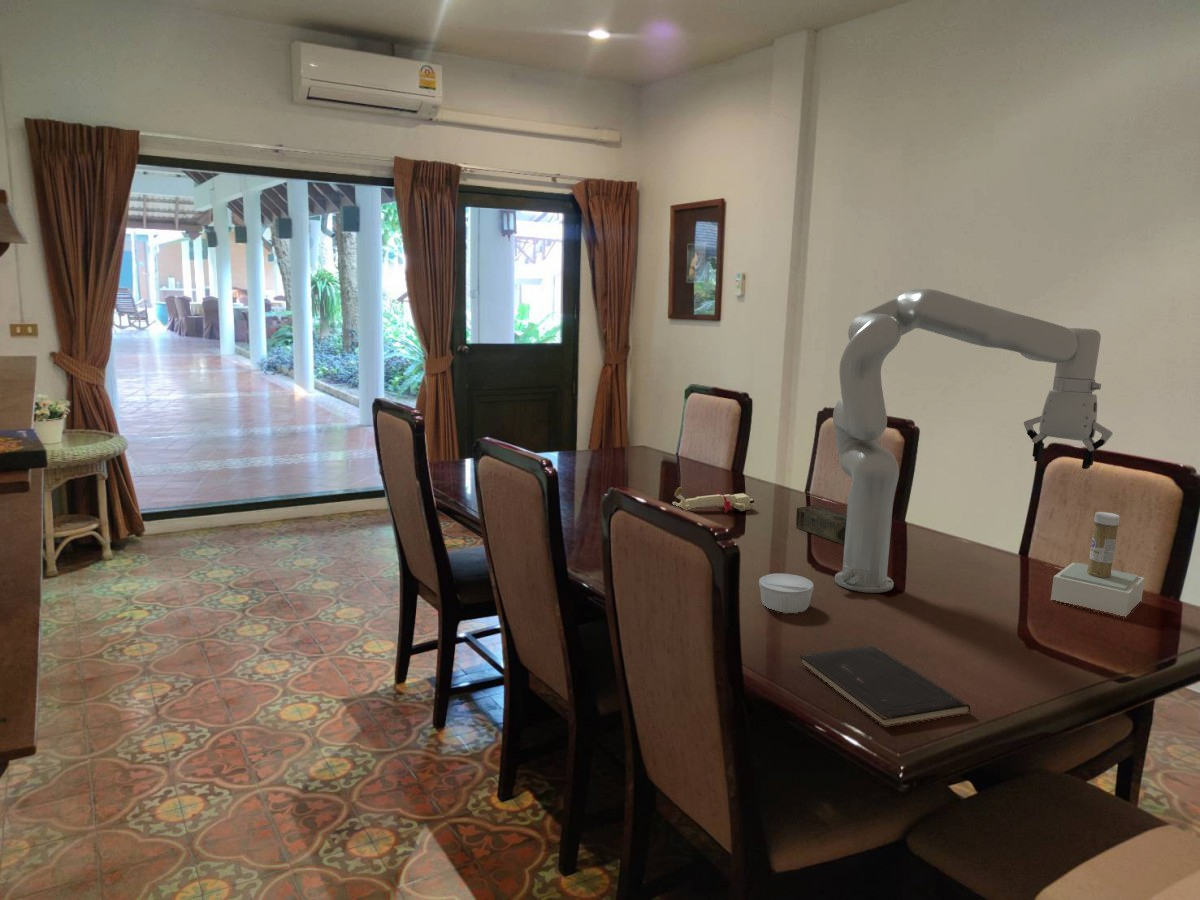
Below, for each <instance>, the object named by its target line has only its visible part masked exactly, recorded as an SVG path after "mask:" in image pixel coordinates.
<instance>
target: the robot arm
mask: <svg viewBox="0 0 1200 900" xmlns="http://www.w3.org/2000/svg"><path fill="white" fill-rule="evenodd" d="M915 329H919V330H920V329H921V330H925V331H928V332H932V333H933V334H937V335H942V336H943V337H944V336H945V337H948V338H951V339H955V340H958V341H961V342H964V343H965V342H966V343H967V344H968V343H969V344H972V345H976V346H981V347H984V348H985V347H986V348H993V349H1000V350H1006V351H1010V352H1014V353H1015V352H1016V353H1020V355H1021V356H1022V357H1024V358H1026V359H1028V360H1030V361H1035V362H1045V363H1052V364H1055V369H1054V370H1055V371H1054V376H1053V385H1052V390H1049V391H1048V393H1047V396H1046V398H1045V402H1044V404H1043V409H1042V412H1041V415H1040V416H1038V417H1037V416H1036V417H1034V418H1031V419H1028V420H1025V421H1023V425H1024V429H1025V430H1026V434H1027V436H1028V437H1029V438H1030V439H1031V442H1032V443H1033V449H1032V457H1033V461H1034V462H1040V461H1042V460H1043V455H1044V448H1045V443H1044V442H1043V441H1044V440H1045V439H1046V438H1049V437H1050V438H1057V439H1063V440H1064V439H1065V440H1072V441H1081V442H1082V443H1083V445H1084V446H1085V447H1086V450H1084V452H1083V458H1082V464H1081V468H1082V469H1083V470H1088V469H1090V467H1091V466H1093V465H1094V460H1095V454H1096V451H1097V450H1098V449H1099V448H1101V447H1103V446H1104V445H1105V444H1106V443H1107V442H1108V441H1109V439H1111V437H1112V436H1113V431H1111V430H1110V429H1108V428H1106V427H1105V426H1103V425H1101V424H1100V423H1098V422H1097V419H1098V396H1097V394H1094V391H1096V390H1099V391H1100V390H1101V389H1102V383H1098V382H1096V377H1095V376H1096V372H1097V371H1096V370H1097V367H1098V366H1097V365H1098V359H1099V352H1100V351H1099V350H1100V345H1101V344H1100V343H1101V339H1102V338H1101V337H1102V336H1101V333H1100V332H1099V330H1096V329H1091V328H1077V327H1076V328H1075V327H1072V328H1071V327H1070V328H1068V327H1066V326H1063V325H1060V324H1056V323H1053V322H1049V321H1046V320H1043V319H1039V318H1035V317H1032V316H1028V315H1025V314H1020V313H1017V312H1013V311H1009V310H1007V309H1003V308H1000V307H996V306H993V305H988V304H985V303H981V302H978V301H974V300H971V299H968V298H964V297H960V296H957V295H954V294H950V293H949V292H943V291H941V290H937V289H931V288H920V289H917V288H916V289H911V290H909V291H906V292H904V293H902V294H900V295H897V296H895V297H893V298H891V299H890V300H888V301H886V302H883V303H882V304H880V305H877V306H875V307H873V308H871V309H868V310H867V311H865V312H862V313H861V314H859V315H857V316H856V317H855V318H854V319H853V320H852V322H851V323H850V324H849V327H848V330H847V332H848V333H847V335H848V340H849V341H848V343H847V345H846V347H845V348H844V351H843V353H842V355H841V359H840V363H839V371H838V372H839V384H840V396H841V398H839V400H838V401H837V402H836V403H835V406H834V408H833V412H832V413H833V414H832V423H833V430H834V436H835V437H834V438H835V442H836V447H837V448H836V449H837V454H838V459H839V464H840V467H841V468H842V471H844V473H845V474H846V475H847V477H849V478H850V479H852V480H851V485H850V489H849V494H848V498H847V507H846V515H847V519H846V532H845V545H844V546H843V559H842V560H843V561H842V571H838V572H837V573H835V576H834V582H835V583H836V584H837V585H838V586H840V587H842V588H845V589H847V590H850V591H855V592H856V591H857V592H862V593H868V594H869V593H871V594H872V593H873V594H875V593H876V594H877V593H885V592H889V591H891V590H892V589H893V588H894V584H895V583H894V581H893V580H892V578H890V577H889V576H888V566H889V557H890V556H889V554H890V542H891V533H892V532H891V531H892V530H891V529H892V517H893V508H894V501H895V494H896V490H897V485H898V482H899V478H900V468H899V463H898V461H897V459H896V457H895V456H894V454H893V453H892V452H891V451H890V450H889V449H887V448H885V447H884V446H882V445H880V442H879V438H880V437H882V435H883V434H884V433H885V431H886V428H887V425H888V415H887V409H886V404H885V399H884V398H885V397H884V390H883V385H882V373H881V372H882V366H883V364H884V363H883V362H884V361H885V359H886V358H887V356H888V355H889V354H890V353H891V352H892V351H893V350H894V349H895V348H896V347H897V346H898V345H899V343H900V341H901V338H902V337H903V336H904V335H906V334H907V333H910V332H911V331H914V330H915ZM1038 423H1039V430H1038V431H1039V432H1038V433H1037V432H1036V430H1035V429H1034V425H1036V424H1038ZM1096 431H1097V432H1098V433H1100V435H1101V437H1100V438H1099V439H1098V440H1097V441H1095V440H1094V439H1093V438H1095V435H1096Z"/></svg>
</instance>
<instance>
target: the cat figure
mask: <svg viewBox="0 0 1200 900" xmlns="http://www.w3.org/2000/svg"><path fill="white" fill-rule="evenodd" d="M683 492H684V488H683V487H682V486H679V487H677V489H676V490H675V492H674V497H675V498H677V499H678V500H680V502H679V503H678V502H676V501H672V504H673V505H676V506H679V507H681V508H683V509H686V510H690V509H691V508H696V507H702V508H708V507H710V508H711V507H717V506H718V507H724V512H725V511H726V513H728V511H729V510H731V509H732V507H733V508H735V509H736V510H737V509H738V510H737V511H740V512H745V511H746V510H751V509H753V508H754V507H755V506H756V504H754V503H755V500H754V499H753V498H751V497H750V496H748V495H747V494H745V493H744V492H742V493H734V494H729V493H728V494H720V491H719V490H718V491H717V492H716V494H711V495H702V496H695V497H694V498H693V497H692V498H686V499H685V498H684V496H682V495H681V494H682V493H683ZM672 504H671V505H672ZM687 508H688V509H687Z"/></svg>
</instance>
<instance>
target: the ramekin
mask: <svg viewBox="0 0 1200 900" xmlns="http://www.w3.org/2000/svg"><path fill="white" fill-rule="evenodd" d="M814 585H815V584H814V583H813V581H811V579H808V578H807V577H804V576H800V575H797V574H791V573H781V572H780V573H777V572H776V573H769V574H766V575H763V576H761V577H760V578H759V579H758V586H759V590H760V599H761V600H760V601H761V603H762V605H763V607H765V606H766V607H767V608H766V607H765V608H766V609H768V608H769V609H772V610H775V611H779V612H783V613H782V614H788V613H794V614H799V613H798V612H801V613H803V612H805V611H806V610H807V609H808V608H809V607H810V605H811V604H810V603H811V598H812V595H813V591H814V589H815V586H814ZM769 609H768V610H769ZM772 610H771V611H772ZM775 611H774V612H775ZM779 612H778V613H779Z"/></svg>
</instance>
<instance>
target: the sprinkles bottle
mask: <svg viewBox="0 0 1200 900" xmlns="http://www.w3.org/2000/svg"><path fill="white" fill-rule="evenodd" d="M1093 520H1094V527H1093V533H1092V539H1091V543H1090V544H1091V545H1090V552H1089V560H1088V564H1087V565H1088V569H1087V573H1089V574H1090V575H1093V576H1096V577H1110V576H1111V570H1112V567H1113V562H1114V555H1115V551H1116V550H1115V549H1116V544H1117V534H1118V527H1119V525H1120V520H1121V517H1120V515H1118V514H1117V513H1112V512H1106V511H1105V512H1104V511H1097V512H1095V514H1094V518H1093Z"/></svg>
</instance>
